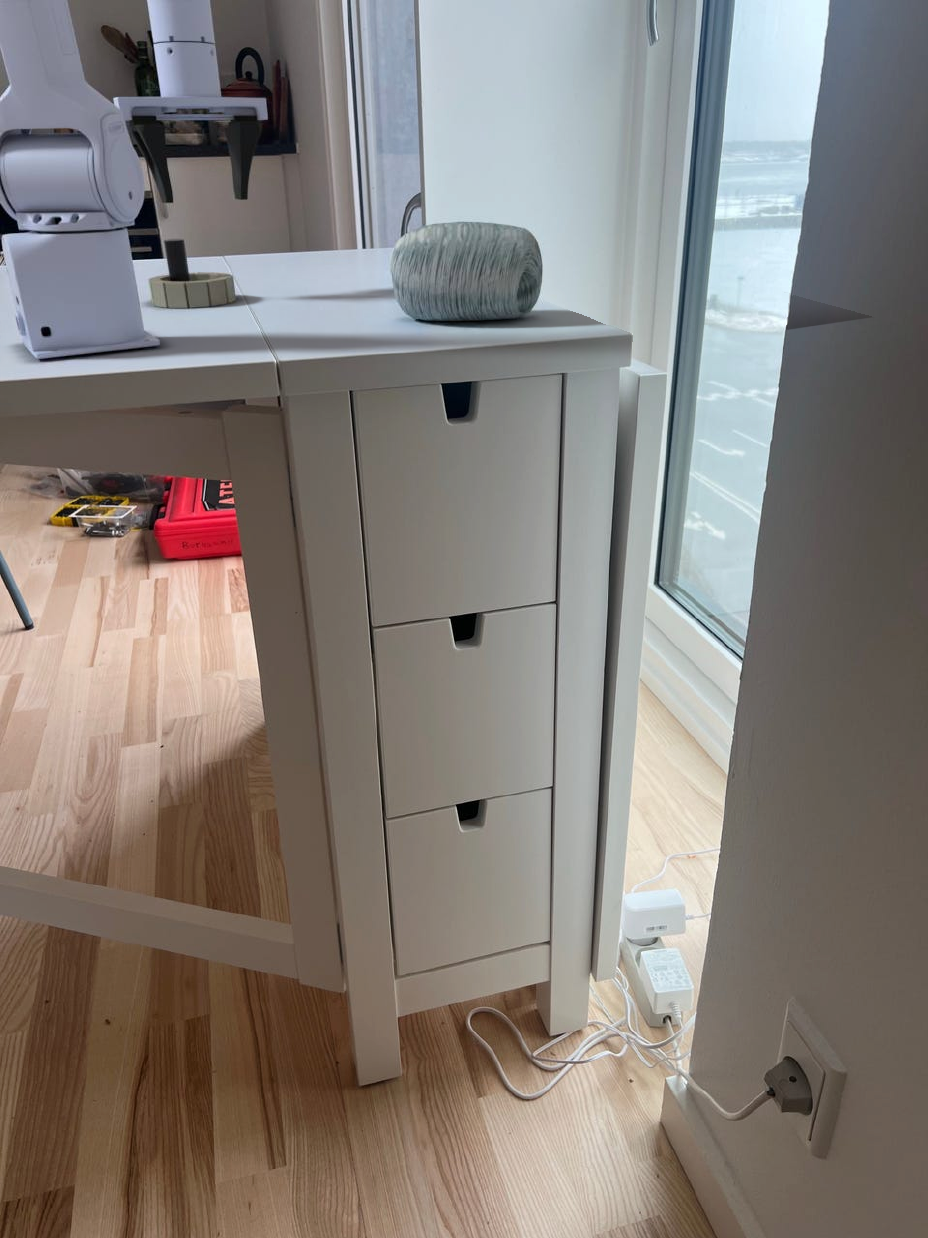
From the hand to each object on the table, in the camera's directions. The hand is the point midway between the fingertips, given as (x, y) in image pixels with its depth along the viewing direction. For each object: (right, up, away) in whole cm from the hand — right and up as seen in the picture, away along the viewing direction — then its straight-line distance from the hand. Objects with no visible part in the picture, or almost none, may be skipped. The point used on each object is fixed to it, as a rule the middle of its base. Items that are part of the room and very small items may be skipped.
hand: (205, 200), depth 94 cm
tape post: (-3, -9, +3) cm, 10 cm away
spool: (+27, -16, -10) cm, 33 cm away
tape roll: (-2, -9, +2) cm, 10 cm away
